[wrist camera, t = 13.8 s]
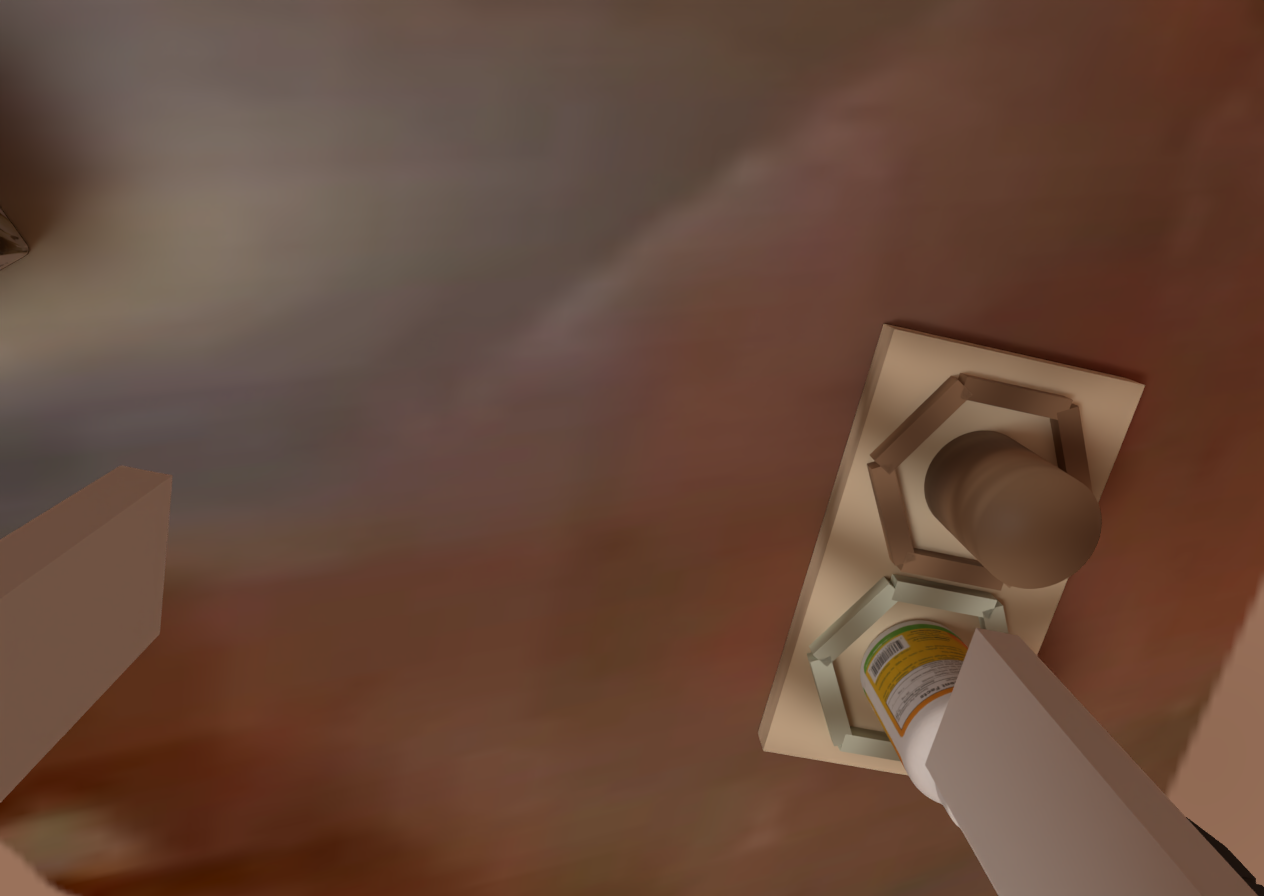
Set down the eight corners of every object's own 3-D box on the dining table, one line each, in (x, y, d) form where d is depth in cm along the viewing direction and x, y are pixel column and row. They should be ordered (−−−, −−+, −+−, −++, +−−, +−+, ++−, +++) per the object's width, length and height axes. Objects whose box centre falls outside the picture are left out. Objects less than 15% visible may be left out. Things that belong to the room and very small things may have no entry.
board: (883, 323, 40) (900, 332, 38) (1126, 377, 41) (1156, 389, 39) (757, 732, 46) (766, 760, 44) (972, 769, 48) (990, 798, 45)
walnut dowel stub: (944, 420, 40) (1002, 461, 34) (1046, 442, 41) (1120, 486, 35) (910, 521, 41) (960, 576, 36) (1009, 541, 42) (1074, 599, 36)
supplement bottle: (961, 709, 45) (1059, 849, 35) (856, 716, 44) (925, 858, 35) (969, 613, 43) (1073, 732, 34) (859, 620, 43) (933, 742, 34)
